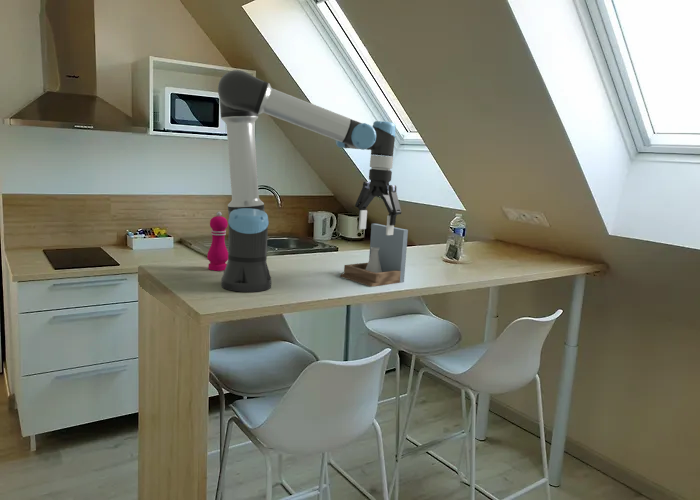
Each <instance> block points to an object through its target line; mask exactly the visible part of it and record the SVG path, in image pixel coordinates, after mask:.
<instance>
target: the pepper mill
mask: <svg viewBox="0 0 700 500" xmlns="http://www.w3.org/2000/svg"><path fill="white" fill-rule="evenodd" d="M222 215H223V213H222V212H221V211H217V212H216V214H215V216H213V217H211V219H210V220H209V227H210V228H211V230H210V232H211V233H210V235H211V237H212V238H211V245H210V247H209V249H208V251H207V254H206V255H207V256H206V258H207V260H208V262H209V263H208V270H210V271H212V270H214V271H215V272H222V271H223V270H224V271H225V268H226V265H227V263H228V248H227V246H226V242H225V239H226V238H225V237H226V235H227V234H226V232H227V230H226V229H227V228H228V227H229V223H228V219H227V218H226V217H224V216H222ZM214 271H213V272H214Z"/></svg>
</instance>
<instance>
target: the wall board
mask: <svg viewBox="0 0 700 500" xmlns="http://www.w3.org/2000/svg"><path fill="white" fill-rule="evenodd" d="M386 227H387V225H385V224H380V223H371V225H370V229H371V230H370V244H369V256H368V257H369V258H368V260H369V259H370V256H371V247H378V248H380V249H379V252H378V255H379V261H380V265H381V269H382V272H388V271H396V270H398V271H401V274H400V283H404V282H405V273H406V261H407V260H406V259H407V247H408V238H409V237H408V234H409V229H406V228H405V229H404V228H400V227H395V226H394V232H393V235H386ZM400 283H399V284H400Z"/></svg>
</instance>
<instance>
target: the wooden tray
mask: <svg viewBox="0 0 700 500" xmlns="http://www.w3.org/2000/svg"><path fill="white" fill-rule="evenodd" d="M367 264H368V262H362V263H361V262H360V263H351V264H344V267H343V273H340V278H344V279H346V280H349V281H353V282H354V283H355V282H356V283H359V284H362V285H366V286H368V287H371V288H372V287H377V286H379V287H380V286H386V285H393V284H400V274H401V271H398V270H396V271H388V272H380V273H375V272H371V271H368V270H365V269H366V267H367Z"/></svg>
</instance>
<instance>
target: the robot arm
mask: <svg viewBox="0 0 700 500" xmlns="http://www.w3.org/2000/svg"><path fill="white" fill-rule="evenodd" d="M217 85H218V86H217V93H218V98H219V99H218V100H219V108H220V109H219V110H220V119H221V120H222V121H223V122H224V123H225V126H226V134H227V135H226V137H227V150H228V151H227V152H228V161H229V163H228V164H229V175H230V176H229V177H230V188H231V189H230V190H231V201H229V203H228V204H227V212H228V219H227V222H228V240H227V241H228V242H227V243H228V244H227V247H228V248H227V251H228V260H227V262H226V264H227V265H226V268H225V270H224V272H223V274H222V277H221V284H220V285H221V288H222V289H225V290H228V291H234V292H240V293H241V292H243V293H247V292H248V293H253V292H263V291H267V290H270V289H271V288H272V277H271V273H270V270H269V266H268V263H267V256H268V230H269V228H268V227H269V223H270V222H269V215H268V214H267V212H266V211H265V202H263V201H262V200H261V199H260V195H259V180H258V178H259V177H258V165H257V151H256V149H257V148H256V135H255V134H256V133H255V122H256V121H257V120H258V119H259V116H260V115H261V114H265V115H268V116H271V117H274V118H277V119H278V120H281V121H285V122H287V123H290V124H292V125H295V126H298V127H301V128H302V129H305V130H309V131H312V132H314V133H317V134H319V135H321V136H324V137H328V138H329V139H333V140H335V144H336V146H337V148H340V149H341V148H342V149H355V150H363V151H365V150H366V151H370V158H369V159H370V160H369V167H370V169H369V170H368V171H369V172H368V180H370V181H363V183H362V188H361V191H360V193H359V196H358V197H357V199H356V202H355V204H354V206H355V208H357V209H358V219H359V220H358V229H359V230H366V229H367V219H368V207H369V205H370V204H371V202H372V201H373V200H374V199H375V197H377V198H380V199H381V200H382V201H383V202H384V203H383V204H384V205H385V208H386V209H387V212H388V215H387V217H386V226H387V227H386V235H393V232H394V227H395V225H396V220H397V216H398V215H402V209H401V204H400V201H399V197H398V193H397V185H395V184H390V182H392V173H393V172H392V170H391V169H393V161H394V152H395V151H394V150H395V149H394V148H395V141H396V124H395V123H394V122H392V121H381V120H380V121H379V120H377V121H376V120H375V121H373V124H372V125H370V124H368V123H366V122H360V121H357V120H355V119H352V118H349V117H347V116H344V115H343V114H339V113H336V112H334V111H332V110H328V109H327V108H324V107H321V106H319V105H316V104H314V103H311V102H308V101H306V100H303V99H301V98H298V97H295V96H293V95H290V94H287V93H285V92H283V91H280V90H278V89H275V88H272V86H271V83H269V82H267V81H264V80H262V79H260V78H258V77H256V76H254V75H252V74H250V73H249V72H247V71H244V70H239V69H234V70H230V71H228V72H226V73H225V74H223V75H222V77H221V78H220V79H219V81H218V84H217Z"/></svg>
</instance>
